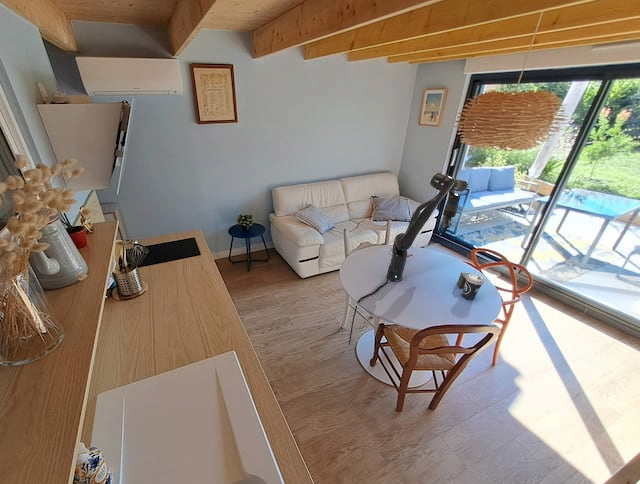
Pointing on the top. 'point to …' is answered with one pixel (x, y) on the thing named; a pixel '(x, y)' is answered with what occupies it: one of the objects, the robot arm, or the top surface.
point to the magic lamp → (407, 255)
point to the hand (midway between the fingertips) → (443, 232)
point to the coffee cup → (472, 286)
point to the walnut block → (462, 280)
